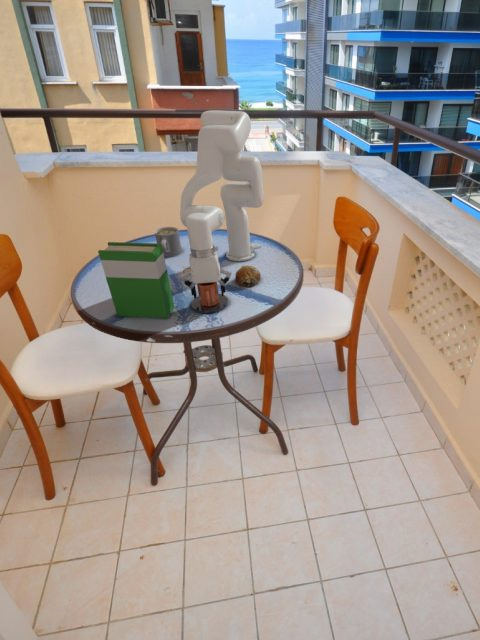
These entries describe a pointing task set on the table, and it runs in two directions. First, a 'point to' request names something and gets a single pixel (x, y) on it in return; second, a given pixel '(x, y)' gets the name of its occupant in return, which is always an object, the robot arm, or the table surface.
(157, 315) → the hardback book
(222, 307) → the saucer
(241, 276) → the bread roll
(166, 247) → the coffee mug
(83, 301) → the table surface
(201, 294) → the wooden mug
